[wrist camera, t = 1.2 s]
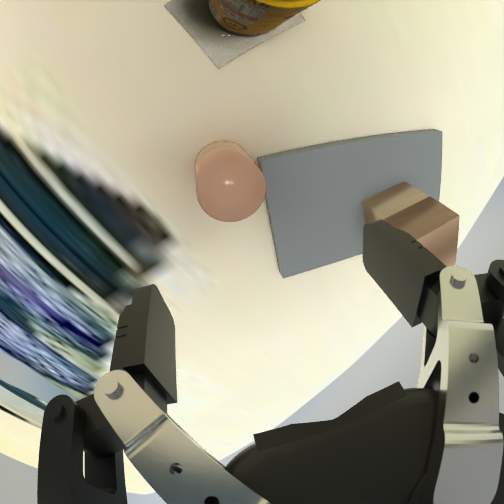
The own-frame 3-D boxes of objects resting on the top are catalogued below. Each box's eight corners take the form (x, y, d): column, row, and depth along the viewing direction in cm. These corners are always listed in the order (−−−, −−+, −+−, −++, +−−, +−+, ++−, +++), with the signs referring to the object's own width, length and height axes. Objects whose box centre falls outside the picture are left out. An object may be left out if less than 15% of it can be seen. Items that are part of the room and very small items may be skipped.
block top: (384, 218, 22) (412, 242, 19) (429, 196, 22) (459, 215, 19) (389, 266, 25) (412, 291, 22) (430, 243, 25) (455, 264, 22)
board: (257, 157, 23) (260, 161, 22) (434, 129, 24) (442, 131, 23) (279, 271, 30) (282, 278, 29) (429, 224, 31) (435, 228, 30)
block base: (361, 200, 26) (384, 218, 22) (404, 181, 25) (429, 196, 22) (368, 245, 29) (389, 266, 25) (408, 225, 28) (430, 243, 25)
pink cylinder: (188, 149, 22) (188, 167, 16) (242, 134, 22) (258, 148, 17) (203, 197, 24) (207, 229, 19) (253, 183, 24) (271, 211, 19)
